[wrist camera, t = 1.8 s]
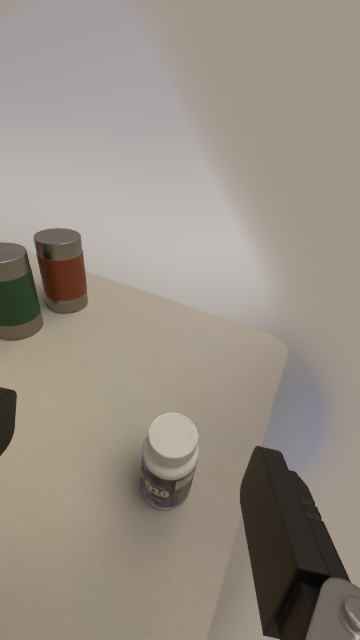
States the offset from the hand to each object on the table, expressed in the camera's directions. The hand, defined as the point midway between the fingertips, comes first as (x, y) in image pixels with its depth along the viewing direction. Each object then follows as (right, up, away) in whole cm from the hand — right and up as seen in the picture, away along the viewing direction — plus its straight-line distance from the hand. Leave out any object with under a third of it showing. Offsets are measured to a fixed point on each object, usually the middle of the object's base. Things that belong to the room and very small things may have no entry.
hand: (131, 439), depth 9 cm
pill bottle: (0, -12, +18) cm, 21 cm away
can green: (-23, +3, +34) cm, 41 cm away
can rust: (-18, +7, +41) cm, 45 cm away
